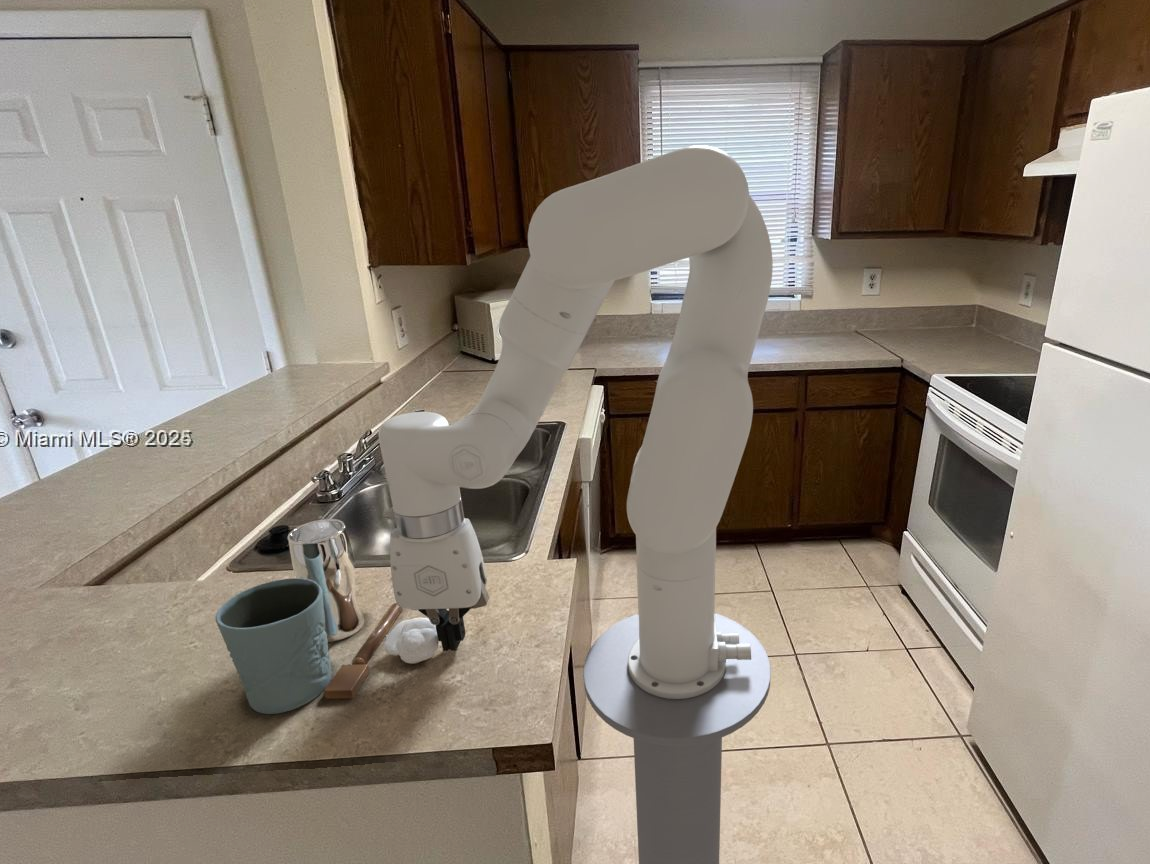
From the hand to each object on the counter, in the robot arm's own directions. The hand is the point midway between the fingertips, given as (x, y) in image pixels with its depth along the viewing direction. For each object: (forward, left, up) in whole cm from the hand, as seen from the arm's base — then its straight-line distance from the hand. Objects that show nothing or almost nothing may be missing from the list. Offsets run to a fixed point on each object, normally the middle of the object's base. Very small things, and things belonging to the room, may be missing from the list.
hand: (453, 643), depth 78 cm
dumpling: (+5, 0, -1) cm, 5 cm away
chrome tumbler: (+17, -5, -1) cm, 18 cm away
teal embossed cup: (+17, +6, -1) cm, 18 cm away
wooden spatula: (+11, 0, -1) cm, 11 cm away
